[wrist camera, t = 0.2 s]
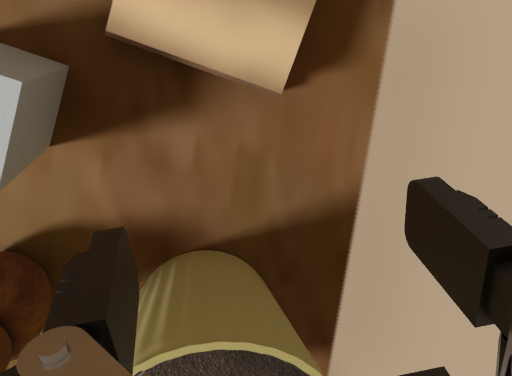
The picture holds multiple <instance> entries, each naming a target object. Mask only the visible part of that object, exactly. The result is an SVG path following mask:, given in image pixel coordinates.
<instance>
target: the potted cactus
mask: <svg viewBox="0 0 512 376" xmlns="http://www.w3.org/2000/svg"><path fill="white" fill-rule="evenodd" d="M139 371H144V372H146V373H147V374H149V375H150V376H324V375H323V373H322V371H321V370H320V368H319V367H318V365H317V364H316V362H315V361H314V359H313V358H312V356H311V355H310V353H309V351H308V350H307V348H306V347H305V345H304V344H303V342H302V341H301V339H300V338H299V336H298V334H297V333H296V331H295V330H294V328H293V327H292V325H291V324H290V322H289V320H288V319H287V317H286V316H285V314H284V313H283V311H282V309H281V308H280V306H279V305H278V303H277V302H276V300H275V298H274V297H273V295H272V294H271V292H270V291H269V289H268V288H267V286H266V284H265V283H264V281H263V280H262V278H261V277H260V276H259V275H258V274H257V272H256V271H255V270H254V269H253V268H252V267H251V266H250V265H249V264H247V263H246V262H244V261H243V260H241V259H240V258H238V257H235V256H233V255H231V254H228V253H224V252H220V251H211V250H201V251H193V252H188V253H185V254H181V255H179V256H176V257H174V258H172V259H170V260H168V261H166V262H165V263H164V264H162V265H161V266H160V267H158V268H157V269H156V270H155V271H154V272H153V273H152V274H151V275H150V276H149V278H148V279H147V280H146V281H145V284H144V285H143V287H142V289H141V290H140V292H139V307H138V318H137V329H136V340H135V352H134V363H133V374H132V375H133V376H134V375H135V374H137V373H138V372H139Z"/></svg>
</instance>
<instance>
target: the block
mask: <svg viewBox="0 0 512 376" xmlns="http://www.w3.org/2000/svg"><path fill="white" fill-rule="evenodd" d="M68 69H69V66H68V65H65V64H62V63H59V62H56V61H53V60H50V59H47V58H44V57H41V56H38V55H35V54H32V53H29V52H26V51H23V50H20V49H18V48H15V47H12V46H9V45H6V44H3V43H0V191H1V190H2V189H3V188H4V187H5V186H6V185H7V184H8V183H9V182H11V181H12V180H13V179H14V178H15V177H16V176H17V175H18V174H19V173H21V172H22V171H23V170H24V169H25V168H26V167H27V166H28V165H29V164H31V163H32V162H33V161H34V160H35V159H36V158H37V157H38V156H40V155H41V154H42V153H43V152H44V151H45V150H46V149H47V148H48V147H49V146H50V142H51V138H52V134H53V130H54V126H55V122H56V118H57V114H58V110H59V106H60V102H61V97H62V93H63V89H64V85H65V81H66V77H67V73H68Z"/></svg>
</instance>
